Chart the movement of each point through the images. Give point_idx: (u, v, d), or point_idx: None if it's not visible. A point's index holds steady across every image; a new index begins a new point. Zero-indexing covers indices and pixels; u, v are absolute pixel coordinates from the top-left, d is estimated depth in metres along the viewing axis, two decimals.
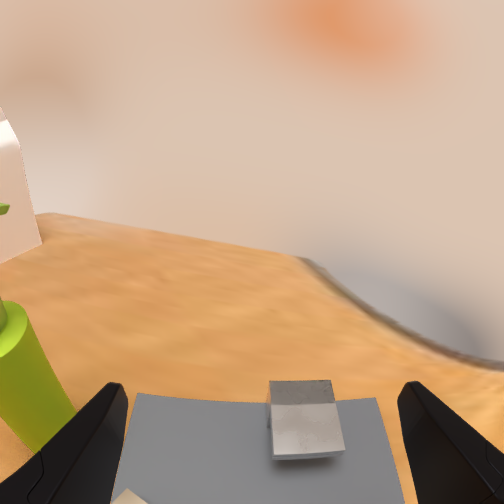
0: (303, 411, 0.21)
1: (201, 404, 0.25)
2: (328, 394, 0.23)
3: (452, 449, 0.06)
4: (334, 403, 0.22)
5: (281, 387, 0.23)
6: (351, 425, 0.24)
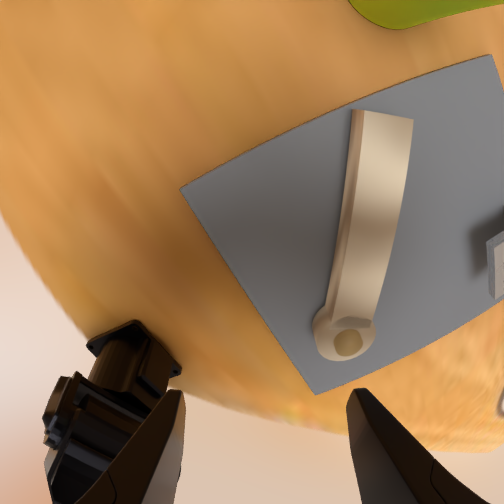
0: None
1: None
2: None
3: (393, 466, 0.06)
4: None
5: None
6: None
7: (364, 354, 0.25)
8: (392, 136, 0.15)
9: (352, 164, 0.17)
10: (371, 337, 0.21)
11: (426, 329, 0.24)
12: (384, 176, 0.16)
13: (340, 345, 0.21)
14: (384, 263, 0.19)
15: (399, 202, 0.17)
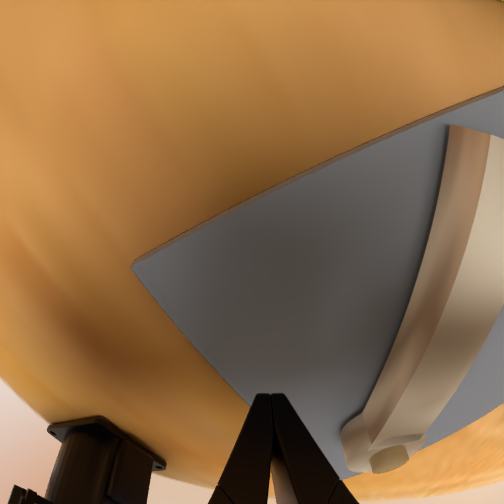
0: None
1: None
2: None
3: None
4: None
5: None
6: None
7: None
8: None
9: (448, 232, 0.08)
10: (417, 446, 0.13)
11: (475, 410, 0.16)
12: (498, 256, 0.08)
13: (379, 466, 0.12)
14: (461, 375, 0.10)
15: None
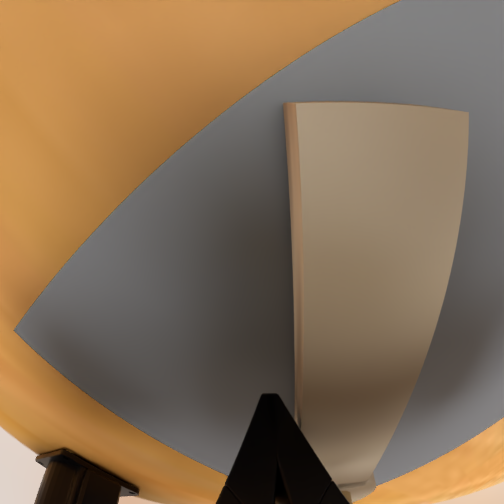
0: None
1: None
2: None
3: None
4: None
5: None
6: None
7: None
8: (408, 178, 0.05)
9: (296, 266, 0.06)
10: (368, 490, 0.11)
11: (464, 431, 0.13)
12: (386, 297, 0.06)
13: None
14: (386, 433, 0.08)
15: (426, 342, 0.06)
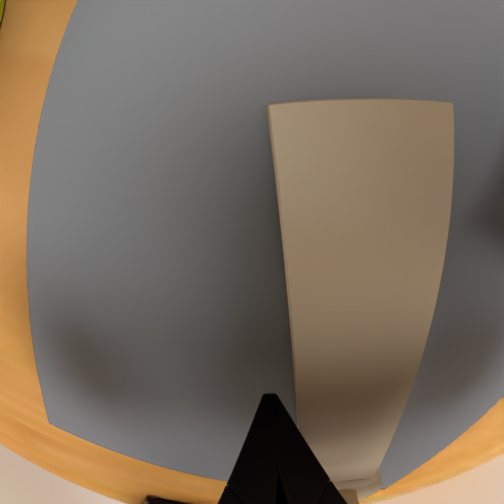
0: None
1: None
2: None
3: None
4: None
5: None
6: None
7: (411, 452, 0.13)
8: (390, 174, 0.04)
9: None
10: (374, 487, 0.11)
11: (494, 384, 0.11)
12: (376, 296, 0.06)
13: None
14: (387, 431, 0.08)
15: (421, 340, 0.06)
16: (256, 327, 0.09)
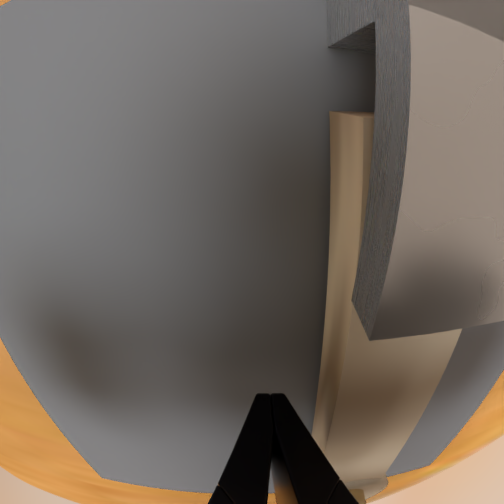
0: None
1: None
2: None
3: None
4: None
5: None
6: None
7: (428, 433, 0.13)
8: None
9: (339, 272, 0.06)
10: (380, 487, 0.11)
11: (489, 351, 0.10)
12: None
13: None
14: (406, 430, 0.08)
15: (452, 343, 0.06)
16: (174, 380, 0.10)
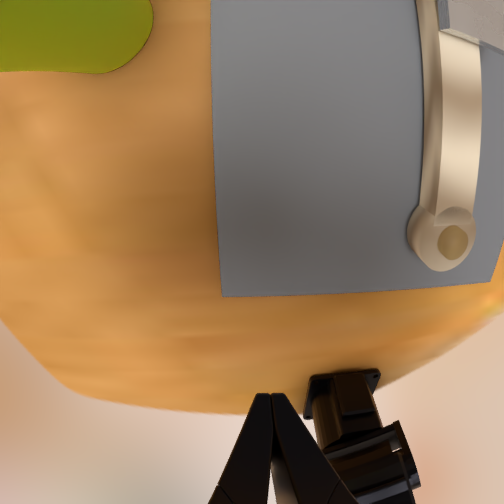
0: None
1: None
2: None
3: None
4: None
5: None
6: None
7: (486, 217, 0.18)
8: None
9: (429, 39, 0.12)
10: (471, 237, 0.17)
11: None
12: (461, 47, 0.11)
13: (447, 244, 0.16)
14: (477, 141, 0.14)
15: (479, 75, 0.12)
16: (349, 109, 0.15)
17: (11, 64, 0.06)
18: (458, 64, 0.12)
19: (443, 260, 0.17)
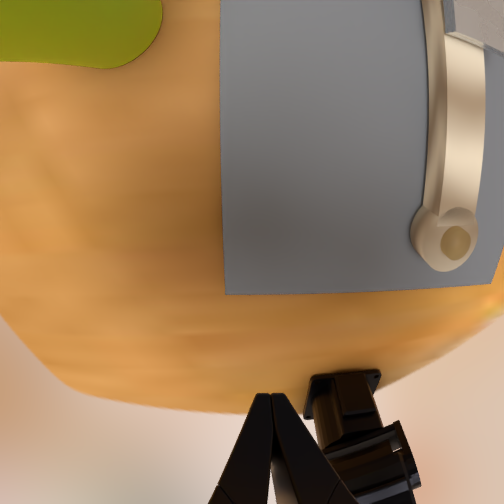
0: None
1: None
2: None
3: None
4: None
5: None
6: None
7: (488, 219, 0.19)
8: None
9: (435, 42, 0.12)
10: (474, 238, 0.17)
11: None
12: (466, 51, 0.12)
13: (450, 244, 0.16)
14: (480, 143, 0.14)
15: (483, 78, 0.12)
16: (355, 109, 0.16)
17: (23, 53, 0.07)
18: (463, 67, 0.12)
19: (446, 260, 0.17)
